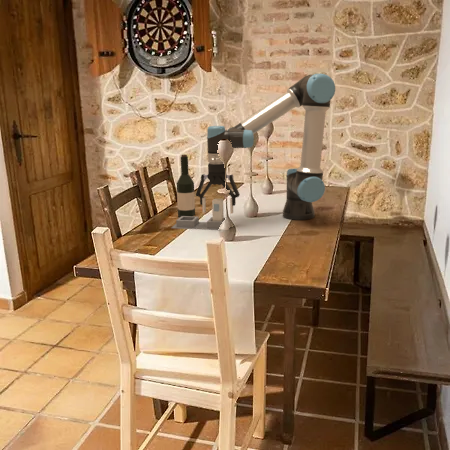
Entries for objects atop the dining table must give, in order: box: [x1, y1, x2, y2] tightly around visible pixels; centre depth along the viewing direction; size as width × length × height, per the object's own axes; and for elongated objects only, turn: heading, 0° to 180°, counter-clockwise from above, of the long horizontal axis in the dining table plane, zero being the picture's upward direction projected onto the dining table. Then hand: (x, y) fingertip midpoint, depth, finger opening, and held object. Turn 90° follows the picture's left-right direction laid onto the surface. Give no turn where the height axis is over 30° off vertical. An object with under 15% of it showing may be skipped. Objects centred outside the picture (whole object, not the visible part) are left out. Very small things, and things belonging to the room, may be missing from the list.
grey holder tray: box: [170, 215, 226, 231], centre depth 219 cm, size 26×12×4 cm, turn 77°
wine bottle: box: [176, 154, 196, 219], centre depth 236 cm, size 8×8×30 cm
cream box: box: [211, 198, 225, 221], centre depth 216 cm, size 4×5×12 cm
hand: (218, 212), depth 217 cm, fingers open, 12 cm apart
